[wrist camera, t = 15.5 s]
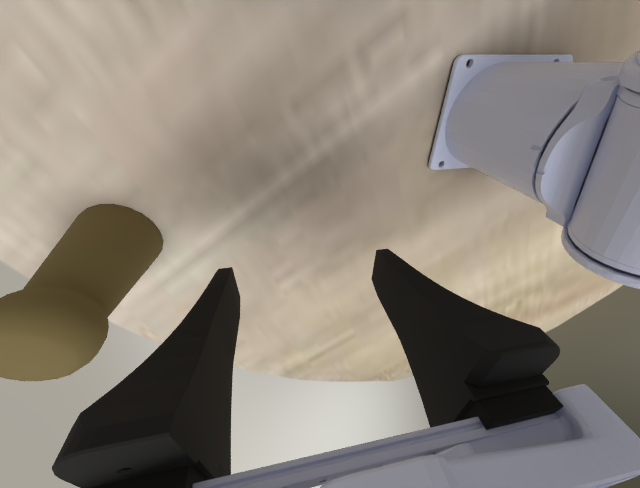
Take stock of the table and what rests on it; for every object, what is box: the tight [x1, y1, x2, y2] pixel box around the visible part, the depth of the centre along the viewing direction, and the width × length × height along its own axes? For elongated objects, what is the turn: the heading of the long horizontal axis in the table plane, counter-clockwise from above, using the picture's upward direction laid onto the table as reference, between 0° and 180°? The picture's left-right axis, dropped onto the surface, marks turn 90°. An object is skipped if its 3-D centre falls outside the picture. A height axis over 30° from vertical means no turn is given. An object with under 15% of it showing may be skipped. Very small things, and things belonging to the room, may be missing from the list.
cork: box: [0, 204, 163, 381], centre depth 16 cm, size 6×6×11 cm
